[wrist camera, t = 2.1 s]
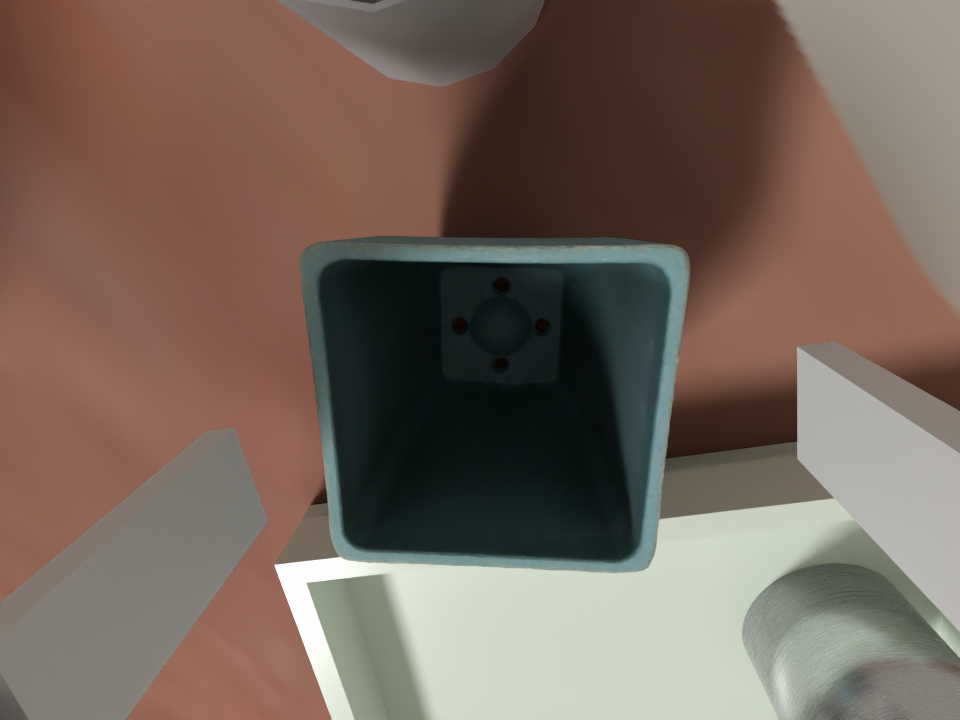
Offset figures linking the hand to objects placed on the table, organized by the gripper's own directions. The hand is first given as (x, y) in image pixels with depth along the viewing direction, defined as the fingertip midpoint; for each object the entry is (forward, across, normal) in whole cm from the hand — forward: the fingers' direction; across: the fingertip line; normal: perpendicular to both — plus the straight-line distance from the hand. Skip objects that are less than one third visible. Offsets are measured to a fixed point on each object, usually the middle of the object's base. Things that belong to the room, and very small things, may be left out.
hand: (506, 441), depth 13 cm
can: (+9, +12, -16) cm, 21 cm away
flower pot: (+10, -1, 0) cm, 10 cm away
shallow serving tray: (+10, +3, -16) cm, 19 cm away
